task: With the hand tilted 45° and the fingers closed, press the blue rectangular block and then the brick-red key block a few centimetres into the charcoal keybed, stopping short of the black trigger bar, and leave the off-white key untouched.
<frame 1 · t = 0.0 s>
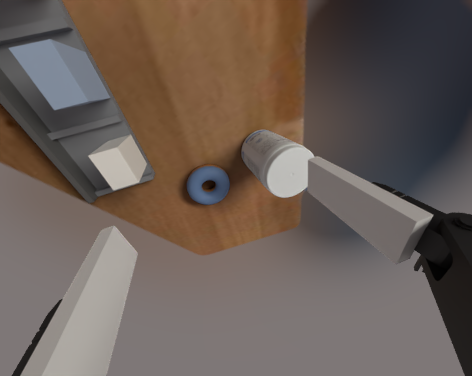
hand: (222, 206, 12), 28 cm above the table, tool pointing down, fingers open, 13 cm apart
supplement tub: (259, 148, 42), on the table
white key: (122, 160, 29), point 6 cm above the table, slide at 0.0 cm
keybed: (63, 86, 27), on the table
blue rectangular block: (71, 78, 23), point 6 cm above the table, slide at 0.0 cm
doughnut: (207, 181, 42), on the table
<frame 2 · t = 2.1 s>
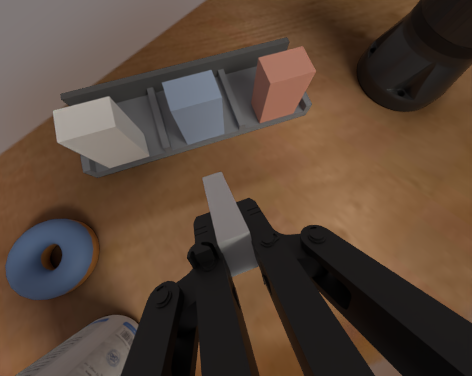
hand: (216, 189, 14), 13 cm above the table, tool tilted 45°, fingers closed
supplement tub: (114, 352, 22), on the table
white key: (109, 137, 23), point 6 cm above the table, slide at 0.0 cm
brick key: (278, 89, 25), point 6 cm above the table, slide at 0.0 cm
keybed: (197, 114, 30), on the table
blue rectangular block: (198, 112, 24), point 6 cm above the table, slide at 0.0 cm
doughnut: (70, 254, 25), on the table
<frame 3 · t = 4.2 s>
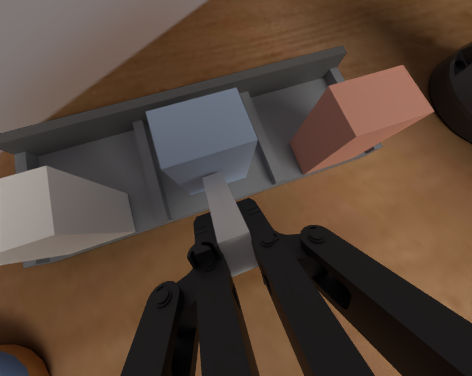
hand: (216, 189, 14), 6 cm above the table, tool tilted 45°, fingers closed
white key: (61, 220, 13), point 6 cm above the table, slide at 0.0 cm
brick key: (343, 131, 16), point 6 cm above the table, slide at 0.0 cm
keybed: (208, 156, 21), on the table
blue rectangular block: (208, 153, 15), point 6 cm above the table, slide at 1.8 cm, touching gripper
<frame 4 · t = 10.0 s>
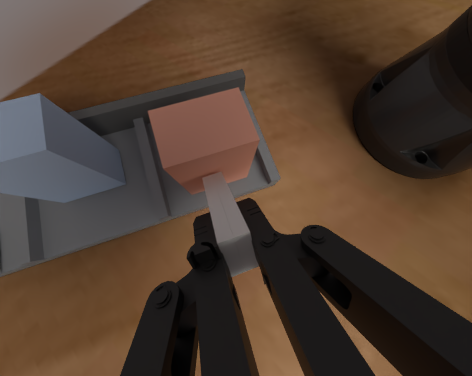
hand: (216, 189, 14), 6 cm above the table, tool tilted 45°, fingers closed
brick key: (210, 152, 15), point 6 cm above the table, slide at 1.5 cm, touching gripper
keybed: (105, 185, 19), on the table
blue rectangular block: (54, 160, 14), point 6 cm above the table, slide at 4.7 cm
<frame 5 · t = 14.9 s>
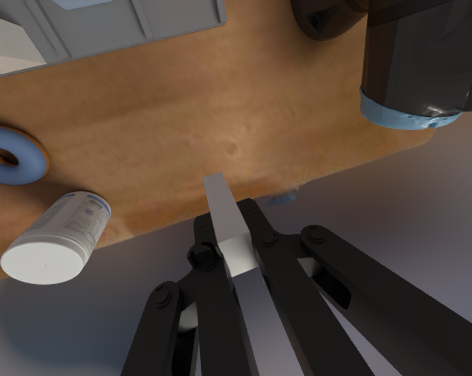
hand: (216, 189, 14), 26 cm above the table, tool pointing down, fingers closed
supplement tub: (87, 207, 38), on the table
doughnut: (18, 152, 31), on the table
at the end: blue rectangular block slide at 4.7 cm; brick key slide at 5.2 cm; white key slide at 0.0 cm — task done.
